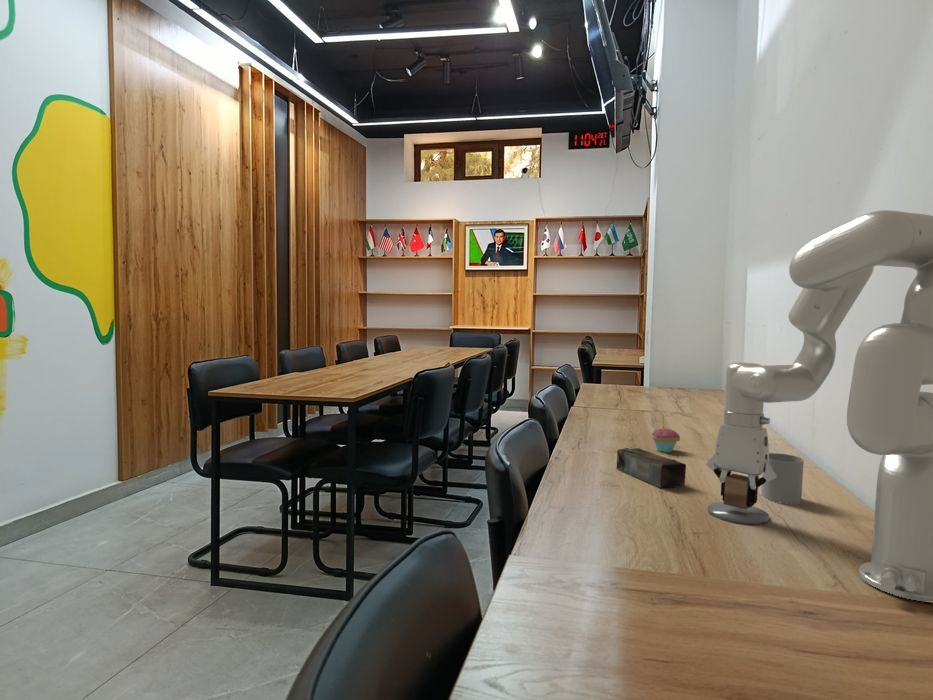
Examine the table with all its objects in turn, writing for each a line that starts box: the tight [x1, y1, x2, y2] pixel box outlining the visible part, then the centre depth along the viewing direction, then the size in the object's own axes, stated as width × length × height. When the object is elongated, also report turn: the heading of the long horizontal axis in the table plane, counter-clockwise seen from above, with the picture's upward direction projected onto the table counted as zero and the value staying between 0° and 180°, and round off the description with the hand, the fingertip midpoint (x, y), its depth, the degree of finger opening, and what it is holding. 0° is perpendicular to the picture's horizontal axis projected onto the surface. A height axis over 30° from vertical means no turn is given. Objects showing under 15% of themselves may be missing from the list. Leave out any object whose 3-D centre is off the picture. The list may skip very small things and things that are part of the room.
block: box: [723, 473, 750, 510], centre depth 123 cm, size 4×4×6 cm
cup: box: [760, 452, 805, 505], centre depth 135 cm, size 8×8×10 cm
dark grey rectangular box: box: [615, 447, 687, 489], centre depth 150 cm, size 8×19×7 cm, turn 21°
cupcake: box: [651, 412, 681, 453], centre depth 181 cm, size 9×8×12 cm
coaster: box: [707, 501, 770, 525], centre depth 123 cm, size 12×12×1 cm
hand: (738, 501), depth 123 cm, fingers closed on block, 4 cm apart
